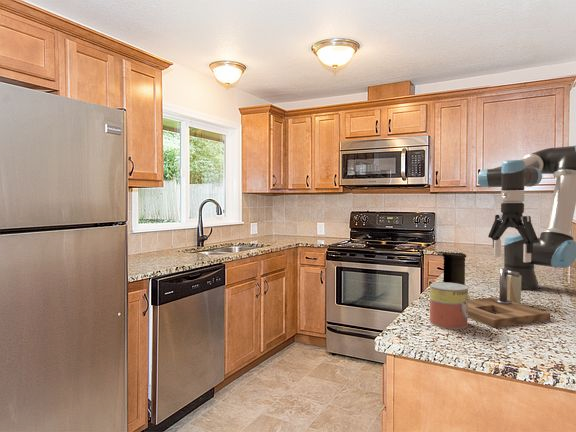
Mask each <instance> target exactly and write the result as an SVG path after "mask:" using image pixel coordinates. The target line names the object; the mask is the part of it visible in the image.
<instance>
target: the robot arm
mask: <svg viewBox="0 0 576 432" xmlns="http://www.w3.org/2000/svg"><path fill="white" fill-rule="evenodd" d="M544 174H545V175H553V177H554V178H556V180H555V186H554V189H553V195H552V199H551V203H550V208H549V214H548V216H547V217H548V218H547V222H546V227H545V229H544V230H543V231H541V232H540V234H539V237H538V236H537V234H536V230H535V229H534V226H533V223H532V219H531V218H532V217H531V215H523V214H524V213H525V203H524V201H525V187H528V188H529V187H530V188H531V187H536V186H538V185H539V184H540V183H541V182H542V179H543V175H544ZM477 183H478V185H479V186H480V187H481V188H501V189H500V190H501V191H500V194H501V195H500V202H501V204H500V212H501V213H502V214H495V216H494V222H493V224H492V226H491V228H490V231H489V233H488V238H489V239H491V240H492V248H493V257H494V258H501V257H502V256H501V255H502V253H501V252H502V240H501V237H502V236H503V235H504V233H505V232H506V230H507V229H508V228H514V229H515V230H517V231H518V233H519V234H514V235H513V234H511V235H507V236H506V237H505V238H504V245H503V247H504V249H503V257H504V258H503V269H508V270H510V271H515V272H519V273H520V276H522V280H521V290H527V291H528V290H538V288H539V281H538V279H537V275H536V273H535V266H543V267H549V268H550V267H551V268H555V269H558V268H559V269H566V268H569V267H571V266H572V265H573V264H574V262H575V261H576V241H575V240H574V236H573V235H572V234H571V232H572V231H571V230H572V226H573V220H574V215H575V210H576V145H571V146H560V147H548V148H544V149H541V150H538V151H535V152H532V153H529V154H527V155H525V156H524V157H523V158H522V159H510V160H504V161H503V162H502V163H501V165H500V166H497V167H493V168H486V169H481V170H480V171H479V172H478V175H477ZM499 285H500V280H499Z"/></svg>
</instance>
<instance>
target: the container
mask: <svg viewBox="0 0 576 432" xmlns="http://www.w3.org/2000/svg"><path fill="white" fill-rule="evenodd" d="M442 257H443V279H442V282H449V283H458V284H463V285H466V282H465V281H466V277H465V276H466V258H467V254H466V253H463V252H443V253H442Z"/></svg>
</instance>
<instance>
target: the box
mask: <svg viewBox="0 0 576 432" xmlns="http://www.w3.org/2000/svg"><path fill="white" fill-rule="evenodd" d="M521 280H522V276H519V277H516V276H511V275H508V280H507V300H509V301H512V302H515V303H519V304H522V303H521V301H522V297H521V296H522V289H521Z"/></svg>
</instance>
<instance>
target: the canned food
mask: <svg viewBox="0 0 576 432" xmlns="http://www.w3.org/2000/svg"><path fill="white" fill-rule="evenodd" d="M429 288H430V289H429V323H430V324H431V325H432V326H434V327H438V328H441V329H448V330H461V329H465V328H468V326H469V323H468V319H469V318H468V300H469V298H468V297H469V287H468V285H466V284H465V285H463V284H458V283H449V282H443V281H442V282H439V281H438V282H437V281H436V282H432V283H430V284H429Z"/></svg>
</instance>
